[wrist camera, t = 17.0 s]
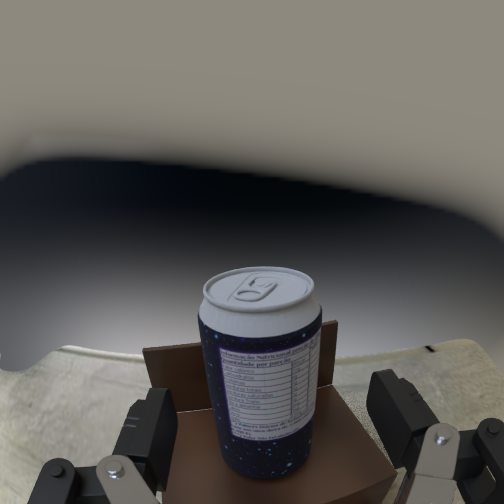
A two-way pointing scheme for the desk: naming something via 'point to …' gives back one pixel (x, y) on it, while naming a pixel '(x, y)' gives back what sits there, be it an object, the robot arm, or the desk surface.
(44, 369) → the desk surface
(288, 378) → the beverage can
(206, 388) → the wooden stair steps
